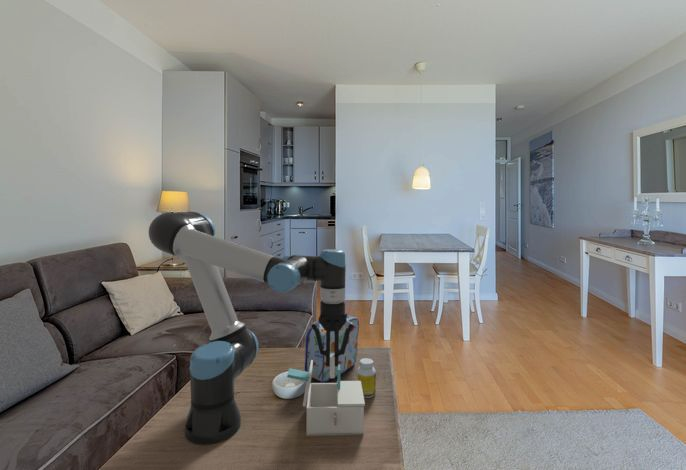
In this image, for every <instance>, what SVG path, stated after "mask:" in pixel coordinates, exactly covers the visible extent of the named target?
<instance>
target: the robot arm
mask: <svg viewBox="0 0 686 470" xmlns="http://www.w3.org/2000/svg"><path fill="white" fill-rule="evenodd" d="M215 235H216V228H215V225H214V223H213V221H212V219H211V218H210V217H209V216H207V215H206V214H204V213H200V212H196V211H186V212H184V211H183V212H182V211H181V212H178V211H177V212H175V211H173V212H164V213H161V214H159V215H158V216H156V217H155V218H154V219H152V221H151V223H150V224H149V227H148V237H149V240H150V243H151V244H152V246H154V247H155V248H156V249H157V250H159V251H161V252H164V253H166V254H169V255H172V256H175V257H177V258H178V259H177V260H180V261H182V262H184V263H185V265H186V267H187V271H188V272H189V275H190V278H191V281H192V283H193V286H194V288H195V291H196V293H197V297H198V300H199V302H200V305H201V307H202V309H203V313H204V315H205V317H206V320H207V323H208V326H209V328H210V330H211V333H210V336H209V338H208V339H209V341H208V343H204V344H202V345H200V346H198V347H197V348H196V349H195V350H194V351H193V352H192V353H191V355H190V360H189V361H190V363H189V376H190V380H189V381H190V407H189V411H188V414H187V417H186V419H185V422H184V423H185V424H184V437H185V439H186V440H187V441H188V442H190V443H192V444H195V445H200V446H201V445H204V446H205V445H213V444H217V443H220V442H224V441H226V440H228V439H229V438H231V437H232V436H234V435H235V434H236V433H237V432H238V431H239V429H240V428H241V424H242V420H241V419H242V416H241V412H240V410H239V407H238V404H237V402H236V399H235V380H236V379H237V378H238V376H239V377H240V375H241V374H242V373H243V372H244V371H245V370H246V369H248V367H249V366H250V365H252V364H253V362H254V360H255V359H256V358H257V355H258V353H259V340H258V338H257V336H256V335H255V333H254V332H253V331H250V329H247V326H246V324H245V322H241V321H239V319H238V316H237V314H236V312H235V309H234V306H233V304H232V301H231V298H230V296H229V293H228V290H227V288H226V285H225V283H224V279H223V277H222V274H221V272H220V268H222V269H224V270H228V271H230V272H234V273H236V274H239V275H242V276H245V277H248V278H251V279H253V280H257V281H259V282H263V283H265V284H268V285H269V287H270V288H271V289H272V290H273V291H275V292H277V293H287V292H289V291H291V290H293V289H295V288H297V287H298V285H300V284H302V283H303V282H305V281H310V282H311V281H313V282H314V281H315V282H320V283H319V284H320V286H319V287H320V292H319V293H320V304H319V307H320V308H319V309H320V312H319V314H320V315H319V316H318V319H317V320H316V321H313V322H311V327H312V328H313V330H314V331H315V334H316V338H317V342H318V346H319V351H320V354H321V355H325V356H326V366H330V378H333V379H335V378H336V377H335V366H338V359H339V355H344V353H345V349H346V345H347V342H348V338H349V334H350V331H351V330H352V328H353V322H349V321H348V320H347V319H346V316H345V314H346V301H345V300H346V267H347V264H346V253H345V251H344V250H341V249H334V248H333V249H329V248H327V249H323V250H321V251H320V254H319V255H297V254H291V255H289V254H287V255H284V256H283V257H282V258H281V257H277V256H274V255H272V254H269V253H266V252H263V251H259V250H257V249H253V248H250V247H248V246H245V245H242V244H239V243H236V242H233V241H229V240H226V239H223V238H222V237H221V238H220V237H217V236H215ZM319 324H321V325H322V327H323V328H324V329H325V330H326V350H325V349H324V346H323V342H322V338H321V334H320V330H319V328H320V325H319ZM344 324H346V325H345V327H346V330H345V333H344V337H343V341H342V345H341V349H339V330H340V329H341V328H342V327H343V325H344ZM331 331H334V332H335V354H330V332H331Z"/></svg>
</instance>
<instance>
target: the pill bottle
mask: <svg viewBox="0 0 686 470" xmlns="http://www.w3.org/2000/svg"><path fill="white" fill-rule="evenodd" d="M376 370H377V369H375V367H374V360H373V359H371V358H367V357H365V358H361V359H359V366H358V367H357V369H356V381H361V385H362V390H363V396H364V399H370V398H373V397H375V395H376V390H377V389H376V386H377V385H376V383H377V382H376V381H377V378H376V377H377V371H376Z"/></svg>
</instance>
